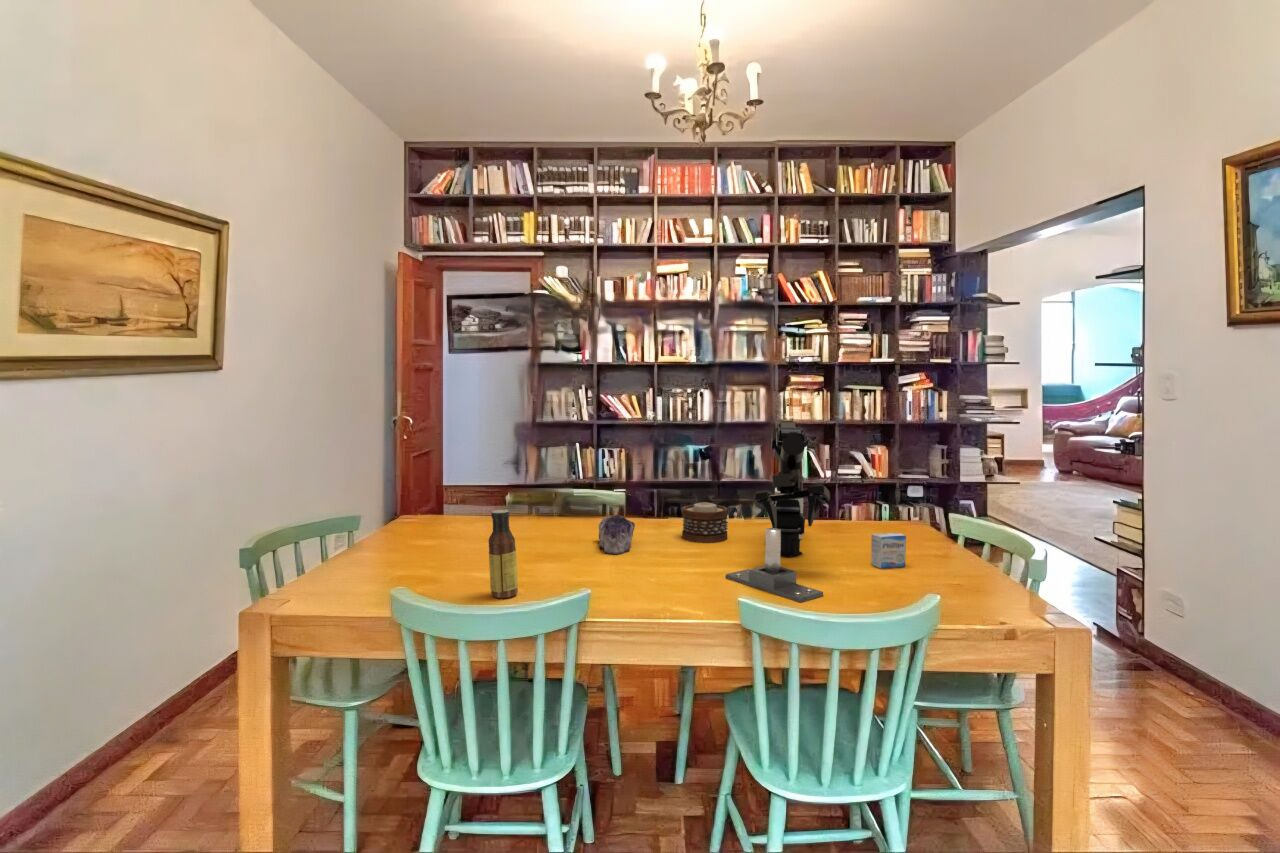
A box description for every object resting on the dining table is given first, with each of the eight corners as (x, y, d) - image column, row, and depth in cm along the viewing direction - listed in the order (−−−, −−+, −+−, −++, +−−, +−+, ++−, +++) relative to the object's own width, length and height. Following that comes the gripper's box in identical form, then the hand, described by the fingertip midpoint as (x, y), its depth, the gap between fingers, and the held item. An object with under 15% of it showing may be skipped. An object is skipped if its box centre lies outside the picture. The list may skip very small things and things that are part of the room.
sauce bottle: (519, 591, 167) (518, 508, 166) (515, 599, 161) (514, 513, 159) (491, 591, 167) (490, 508, 165) (486, 599, 161) (485, 513, 159)
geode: (639, 555, 201) (635, 521, 200) (599, 561, 200) (594, 527, 199) (636, 536, 221) (632, 505, 220) (599, 541, 221) (595, 510, 219)
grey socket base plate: (725, 578, 178) (725, 562, 178) (747, 572, 183) (748, 557, 182) (800, 602, 159) (800, 585, 159) (823, 595, 164) (823, 579, 163)
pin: (762, 584, 172) (763, 528, 171) (776, 584, 173) (777, 527, 172) (767, 589, 169) (768, 531, 168) (781, 588, 169) (782, 531, 168)
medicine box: (880, 569, 186) (881, 537, 186) (870, 565, 191) (871, 533, 190) (905, 567, 189) (906, 535, 188) (895, 562, 193) (896, 531, 192)
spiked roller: (732, 501, 226) (724, 509, 212) (732, 534, 227) (723, 545, 213) (687, 498, 231) (676, 506, 216) (687, 531, 232) (676, 541, 217)
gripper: (746, 464, 185) (745, 521, 178) (816, 454, 176) (818, 514, 169) (761, 479, 193) (761, 534, 187) (829, 470, 184) (831, 528, 178)
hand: (792, 527), depth 180 cm, fingers open, 9 cm apart
